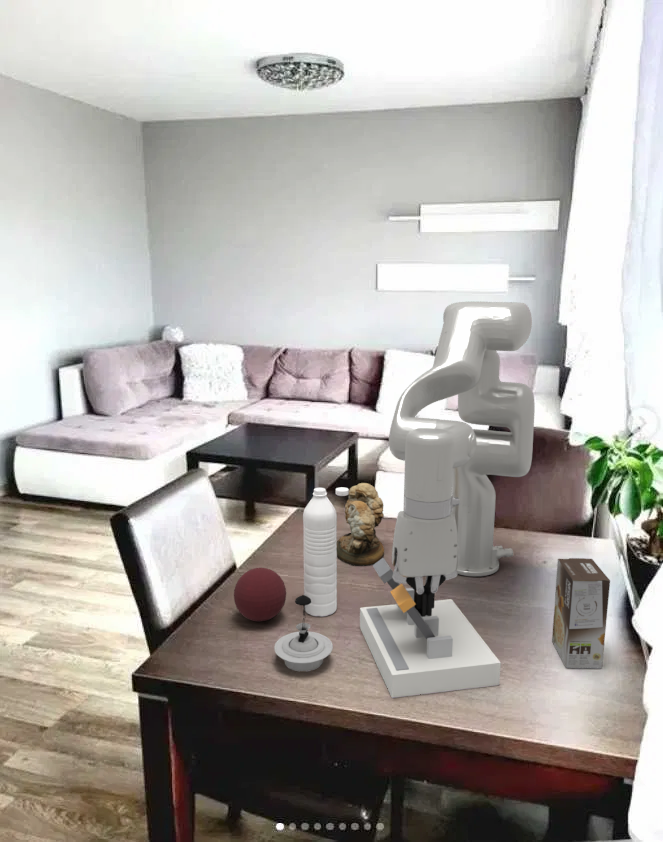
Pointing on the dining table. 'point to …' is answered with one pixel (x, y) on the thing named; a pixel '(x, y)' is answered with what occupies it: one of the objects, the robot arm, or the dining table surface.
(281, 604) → the decorative ball
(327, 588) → the water bottle
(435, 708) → the dining table surface
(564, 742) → the dining table surface
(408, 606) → the lever
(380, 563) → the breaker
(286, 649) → the gray round rimmed fixture
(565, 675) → the dining table surface
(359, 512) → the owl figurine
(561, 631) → the coffee box
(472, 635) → the box
